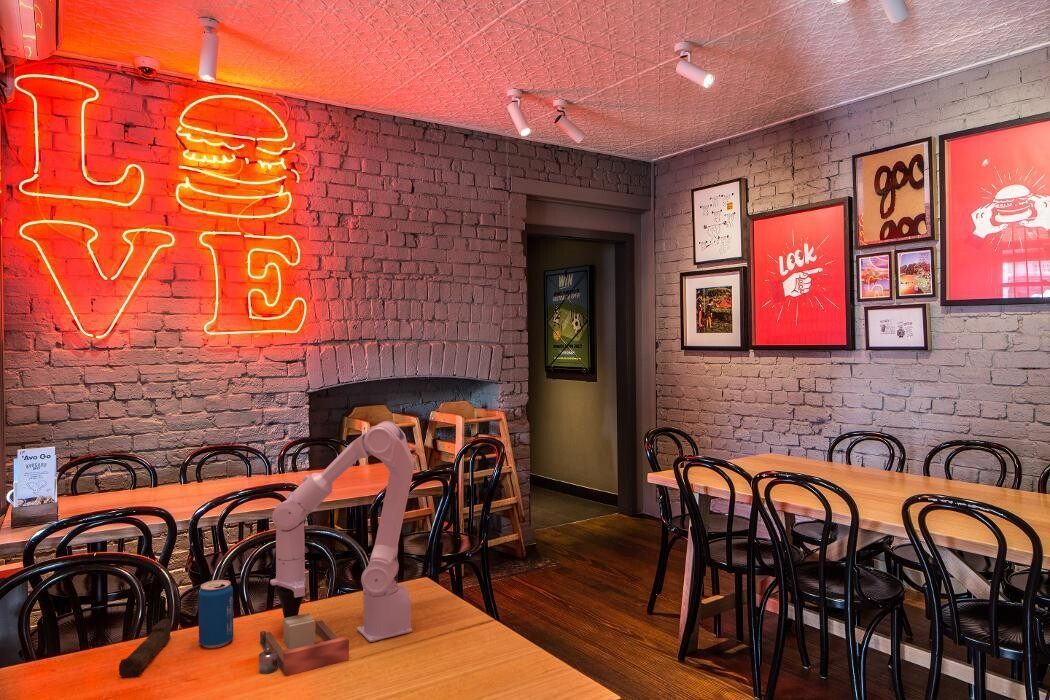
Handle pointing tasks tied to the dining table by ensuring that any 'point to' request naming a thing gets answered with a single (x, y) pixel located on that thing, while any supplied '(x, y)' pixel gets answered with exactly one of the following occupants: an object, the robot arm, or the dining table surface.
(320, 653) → the bay
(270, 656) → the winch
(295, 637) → the crate
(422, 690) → the dining table surface
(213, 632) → the beverage can
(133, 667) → the dark brown rough bar
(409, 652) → the dining table surface
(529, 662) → the dining table surface
